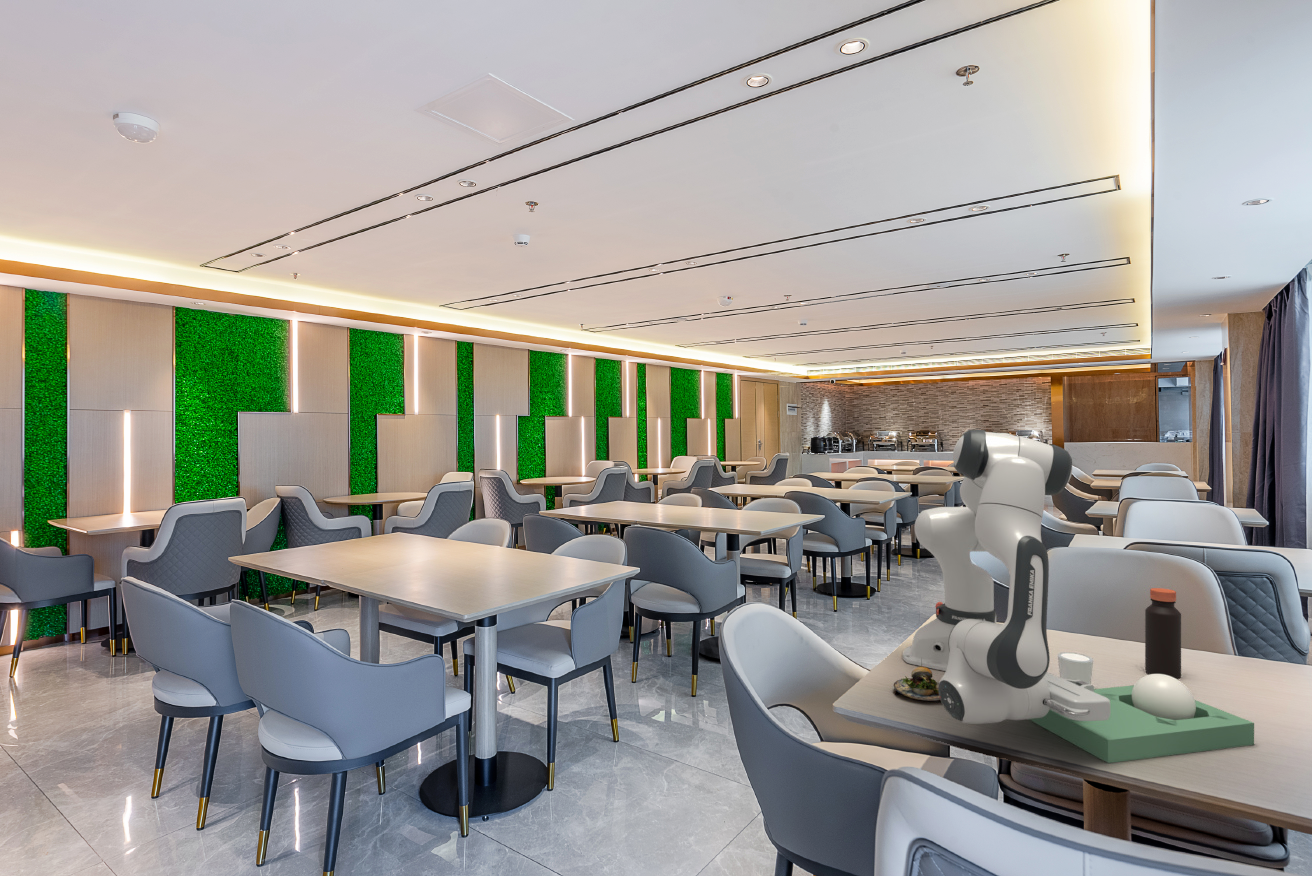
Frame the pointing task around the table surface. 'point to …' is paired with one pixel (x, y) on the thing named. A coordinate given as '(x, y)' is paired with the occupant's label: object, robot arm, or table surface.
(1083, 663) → the white cup
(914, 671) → the burger
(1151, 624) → the bottle
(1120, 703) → the green cutout tray
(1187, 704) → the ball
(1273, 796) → the table surface
